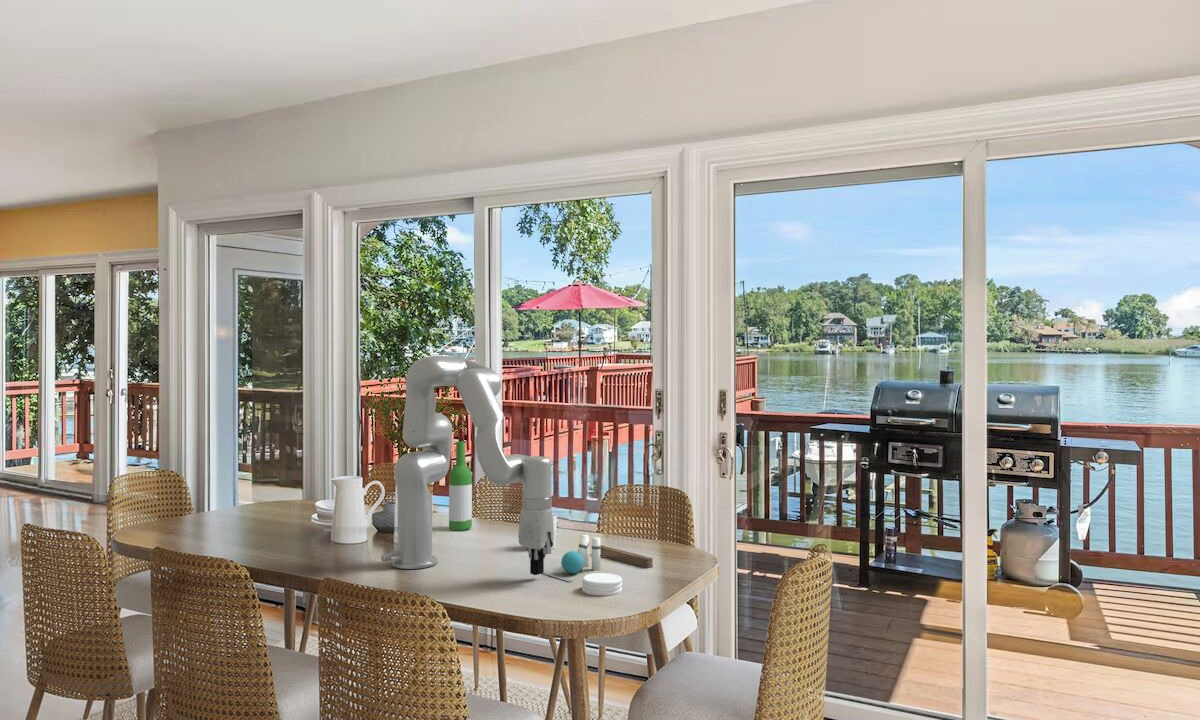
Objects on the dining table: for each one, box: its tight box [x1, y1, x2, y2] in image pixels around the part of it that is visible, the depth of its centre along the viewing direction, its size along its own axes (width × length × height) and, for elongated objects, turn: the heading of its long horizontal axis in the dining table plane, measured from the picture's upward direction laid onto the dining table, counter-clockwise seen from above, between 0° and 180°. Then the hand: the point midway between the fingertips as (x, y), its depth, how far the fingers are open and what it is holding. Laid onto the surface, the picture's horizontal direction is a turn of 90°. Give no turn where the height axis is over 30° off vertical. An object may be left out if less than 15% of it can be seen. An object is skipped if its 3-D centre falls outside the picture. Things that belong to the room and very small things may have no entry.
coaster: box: [581, 572, 623, 597], centre depth 203 cm, size 10×10×4 cm
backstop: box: [600, 544, 654, 569], centre depth 234 cm, size 2×22×2 cm, turn 42°
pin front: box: [577, 537, 590, 571], centre depth 223 cm, size 2×2×8 cm
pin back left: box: [579, 534, 590, 568], centre depth 227 cm, size 2×2×8 cm
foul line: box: [542, 571, 574, 583], centre depth 216 cm, size 1×16×1 cm, turn 41°
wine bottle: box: [448, 441, 473, 531], centre depth 279 cm, size 8×8×30 cm
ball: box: [560, 550, 584, 575], centre depth 219 cm, size 6×6×6 cm
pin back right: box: [591, 537, 601, 571], centre depth 223 cm, size 2×2×8 cm
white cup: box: [551, 513, 558, 549], centre depth 250 cm, size 8×8×10 cm
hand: (536, 573), depth 213 cm, fingers closed
